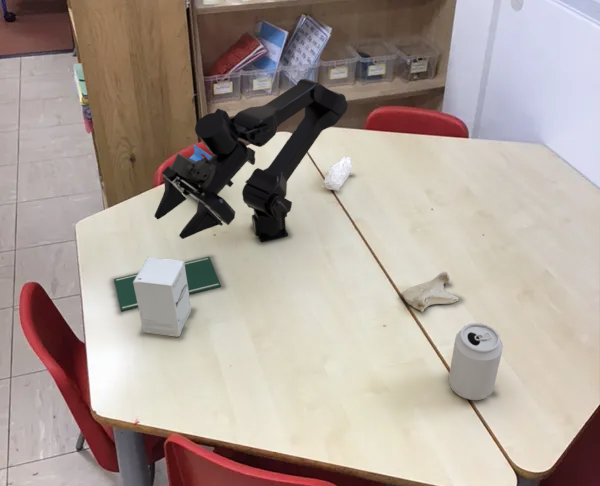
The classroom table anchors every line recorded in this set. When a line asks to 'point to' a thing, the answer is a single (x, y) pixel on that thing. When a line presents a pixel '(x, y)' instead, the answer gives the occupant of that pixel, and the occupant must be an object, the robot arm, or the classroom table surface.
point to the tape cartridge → (196, 157)
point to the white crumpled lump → (338, 174)
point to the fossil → (430, 293)
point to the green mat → (198, 280)
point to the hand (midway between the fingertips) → (168, 227)
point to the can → (475, 361)
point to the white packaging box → (162, 296)
